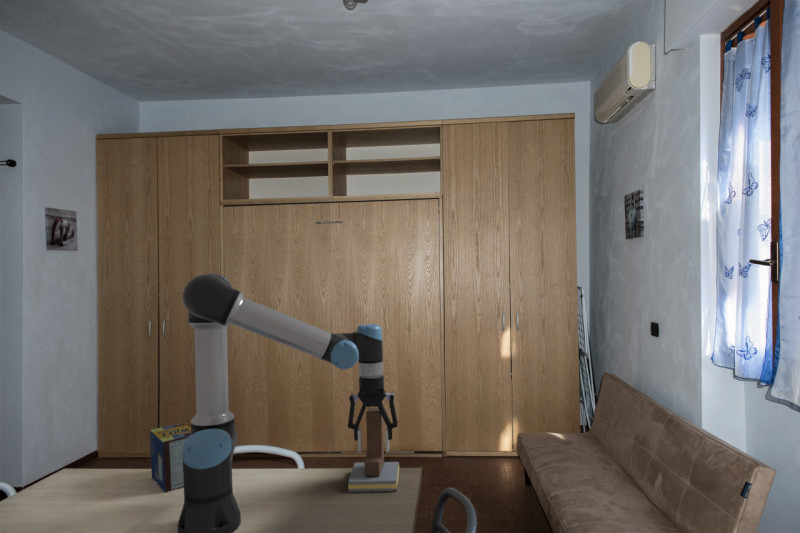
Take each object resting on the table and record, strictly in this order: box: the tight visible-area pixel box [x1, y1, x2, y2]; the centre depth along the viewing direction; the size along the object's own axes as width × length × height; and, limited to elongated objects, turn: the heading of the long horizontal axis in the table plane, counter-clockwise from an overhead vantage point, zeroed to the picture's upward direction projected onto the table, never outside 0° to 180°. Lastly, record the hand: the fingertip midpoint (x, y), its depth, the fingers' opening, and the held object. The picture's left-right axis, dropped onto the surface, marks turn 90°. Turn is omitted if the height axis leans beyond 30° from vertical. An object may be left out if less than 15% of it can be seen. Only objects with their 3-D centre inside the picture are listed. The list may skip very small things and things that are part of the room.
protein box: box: [149, 422, 191, 493], centre depth 160 cm, size 10×15×16 cm
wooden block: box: [363, 407, 385, 477], centre depth 154 cm, size 9×4×18 cm, turn 173°
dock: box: [347, 461, 400, 493], centre depth 154 cm, size 14×14×3 cm
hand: (373, 450), depth 154 cm, fingers open, 8 cm apart
